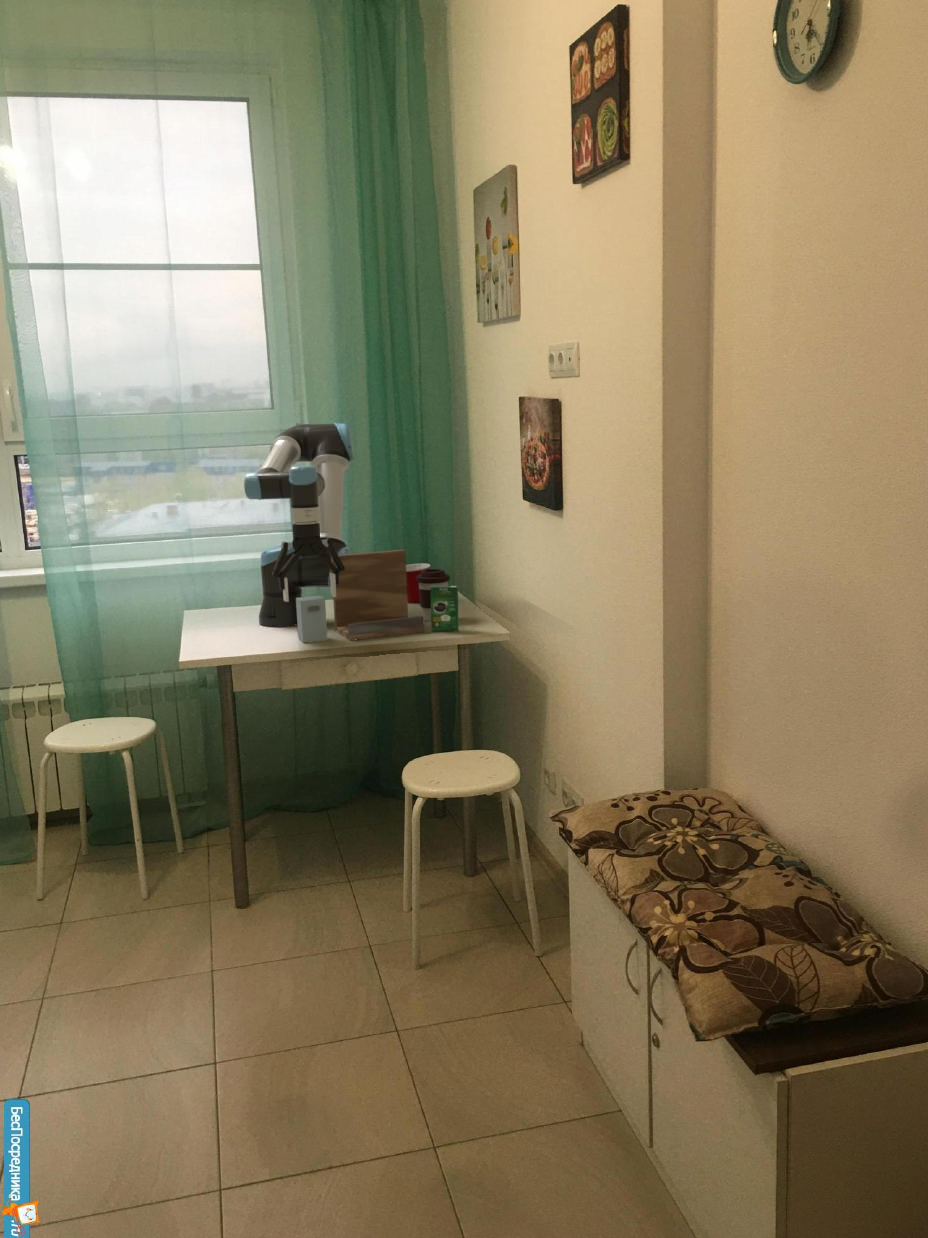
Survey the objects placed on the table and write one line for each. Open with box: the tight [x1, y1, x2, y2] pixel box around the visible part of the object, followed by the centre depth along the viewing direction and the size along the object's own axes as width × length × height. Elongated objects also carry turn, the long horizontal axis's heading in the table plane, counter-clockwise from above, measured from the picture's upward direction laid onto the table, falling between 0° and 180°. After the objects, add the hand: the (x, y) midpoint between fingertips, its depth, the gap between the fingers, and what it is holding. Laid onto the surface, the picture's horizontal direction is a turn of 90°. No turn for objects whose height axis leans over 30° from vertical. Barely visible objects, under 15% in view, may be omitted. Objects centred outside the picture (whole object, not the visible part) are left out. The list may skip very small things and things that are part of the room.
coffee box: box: [430, 585, 459, 632], centre depth 313 cm, size 8×3×13 cm, turn 88°
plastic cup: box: [406, 563, 431, 604], centre depth 357 cm, size 11×11×12 cm
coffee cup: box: [417, 568, 451, 623], centre depth 328 cm, size 10×10×15 cm
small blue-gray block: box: [296, 595, 328, 644], centre depth 306 cm, size 6×7×12 cm
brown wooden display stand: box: [331, 549, 425, 641], centre depth 313 cm, size 15×22×22 cm
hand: (310, 598), depth 304 cm, fingers open, 13 cm apart
